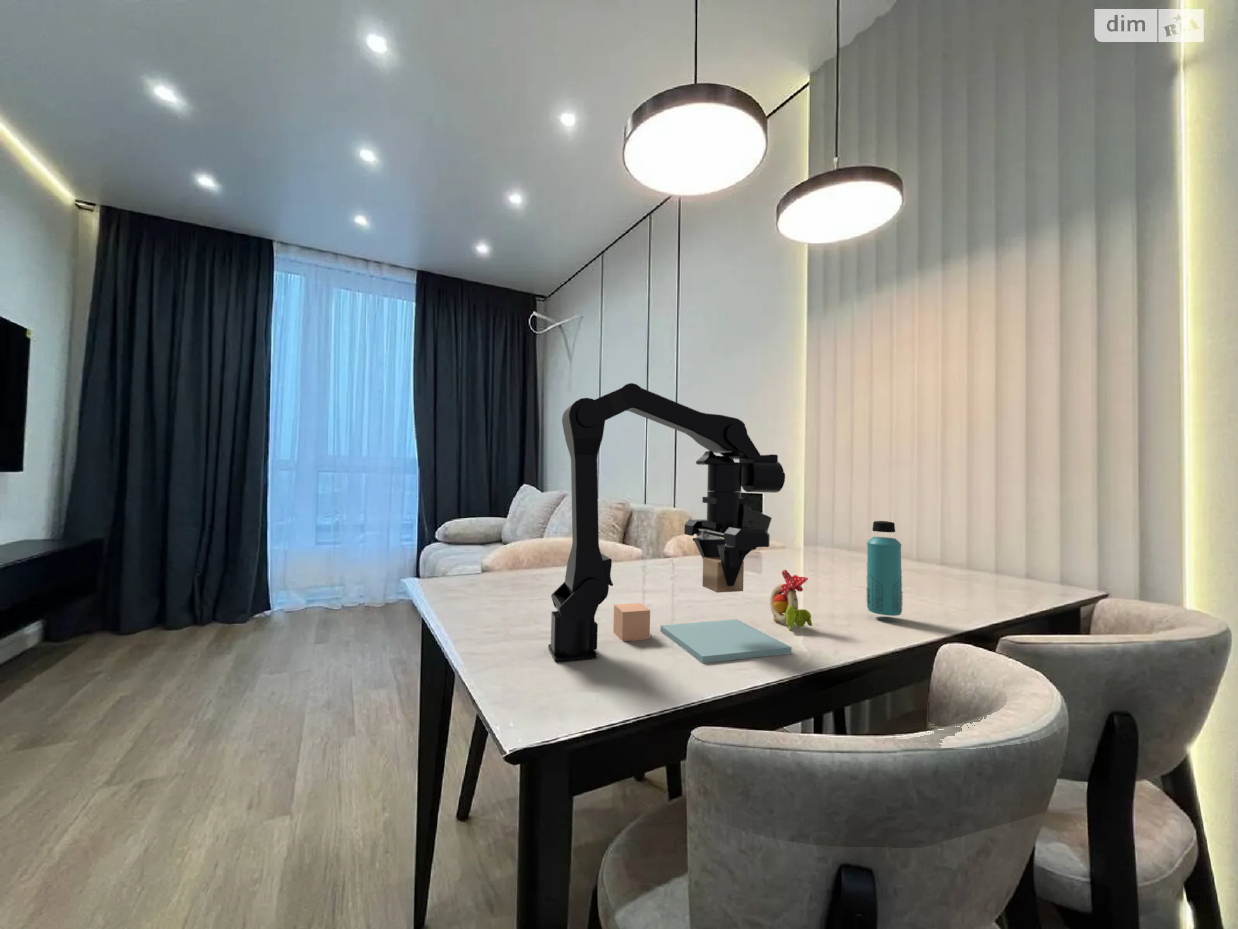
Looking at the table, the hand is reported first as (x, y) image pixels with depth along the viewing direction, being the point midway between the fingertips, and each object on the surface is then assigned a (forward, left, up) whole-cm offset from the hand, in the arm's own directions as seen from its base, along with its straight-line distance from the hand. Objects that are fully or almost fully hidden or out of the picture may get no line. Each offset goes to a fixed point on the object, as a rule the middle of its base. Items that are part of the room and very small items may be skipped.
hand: (722, 582), depth 83 cm
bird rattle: (+17, +5, -10) cm, 21 cm away
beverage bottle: (+40, +4, -10) cm, 42 cm away
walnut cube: (0, 0, -1) cm, 1 cm away
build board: (0, 0, -10) cm, 10 cm away
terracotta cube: (-14, +7, -10) cm, 19 cm away
